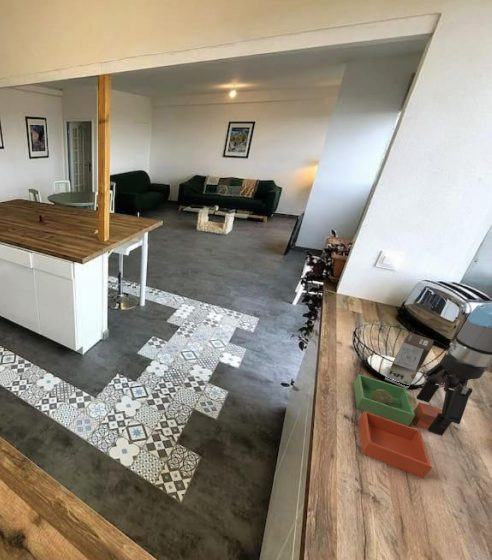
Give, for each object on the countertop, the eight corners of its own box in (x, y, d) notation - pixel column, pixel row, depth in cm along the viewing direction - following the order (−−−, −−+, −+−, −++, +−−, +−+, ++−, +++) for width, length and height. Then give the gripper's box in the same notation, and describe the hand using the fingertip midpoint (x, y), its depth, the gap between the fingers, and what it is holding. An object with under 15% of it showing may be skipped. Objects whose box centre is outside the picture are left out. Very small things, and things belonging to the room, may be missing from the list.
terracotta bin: (412, 441, 86) (419, 430, 84) (423, 478, 77) (432, 467, 75) (358, 421, 92) (363, 410, 90) (362, 453, 83) (368, 442, 81)
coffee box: (408, 390, 103) (430, 351, 96) (384, 379, 108) (403, 342, 101) (413, 377, 109) (434, 340, 102) (390, 367, 113) (408, 331, 106)
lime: (392, 408, 96) (399, 397, 94) (376, 408, 96) (382, 396, 94) (381, 397, 100) (387, 386, 98) (366, 397, 100) (371, 385, 98)
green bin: (400, 399, 100) (406, 388, 98) (408, 426, 91) (415, 415, 89) (353, 384, 106) (358, 374, 104) (356, 408, 97) (361, 397, 95)
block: (434, 421, 92) (442, 409, 90) (438, 433, 88) (447, 421, 86) (411, 413, 95) (419, 401, 92) (415, 425, 91) (423, 413, 89)
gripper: (434, 330, 92) (402, 383, 102) (463, 382, 73) (421, 441, 83) (469, 339, 89) (433, 393, 98) (509, 395, 70) (460, 455, 79)
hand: (428, 415), depth 90 cm, fingers open, 13 cm apart
